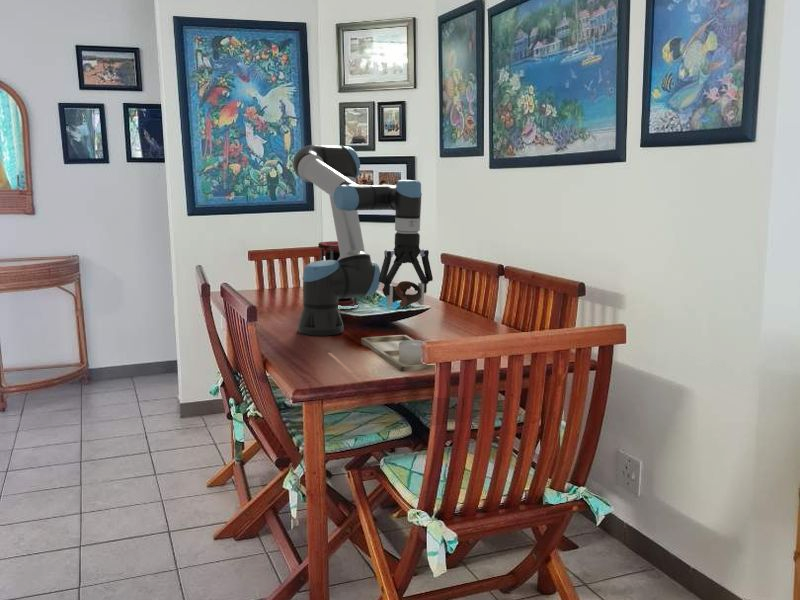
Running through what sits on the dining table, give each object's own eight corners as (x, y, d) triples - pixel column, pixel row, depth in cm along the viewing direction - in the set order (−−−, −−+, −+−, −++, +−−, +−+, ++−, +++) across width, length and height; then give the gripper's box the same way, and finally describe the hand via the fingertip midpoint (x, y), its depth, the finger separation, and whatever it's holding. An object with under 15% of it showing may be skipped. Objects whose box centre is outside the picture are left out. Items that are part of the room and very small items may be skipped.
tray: (401, 374, 197) (401, 367, 197) (360, 343, 229) (361, 337, 229) (451, 369, 202) (452, 362, 202) (405, 340, 235) (405, 334, 234)
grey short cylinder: (405, 366, 202) (405, 348, 201) (394, 358, 210) (394, 341, 209) (435, 363, 205) (435, 346, 204) (422, 355, 214) (423, 339, 213)
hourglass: (328, 301, 298) (328, 240, 294) (365, 304, 293) (366, 242, 289) (311, 308, 283) (311, 243, 279) (350, 311, 278) (350, 246, 274)
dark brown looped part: (417, 303, 231) (425, 283, 226) (413, 321, 223) (421, 301, 218) (381, 292, 230) (387, 271, 225) (376, 310, 223) (382, 290, 218)
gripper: (377, 234, 212) (375, 309, 216) (446, 232, 221) (443, 305, 225) (368, 231, 219) (366, 304, 223) (435, 230, 228) (432, 300, 232)
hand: (405, 304), depth 224 cm, fingers closed on dark brown looped part, 10 cm apart
